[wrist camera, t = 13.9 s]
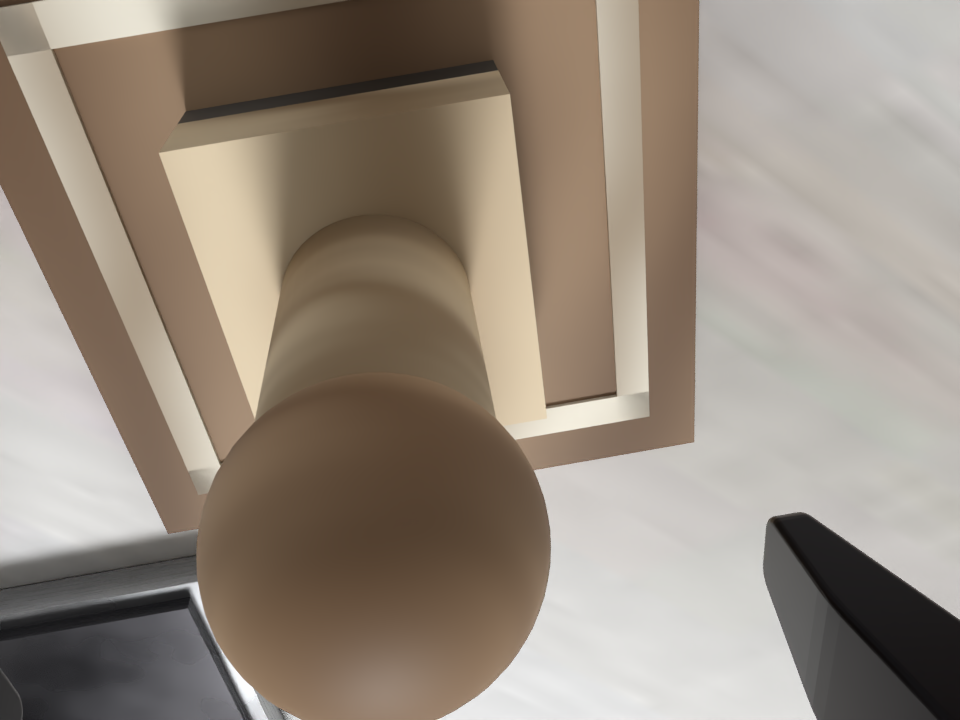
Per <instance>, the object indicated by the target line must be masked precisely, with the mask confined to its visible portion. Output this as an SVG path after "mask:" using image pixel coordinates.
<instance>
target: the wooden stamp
mask: <svg viewBox="0 0 960 720" xmlns="http://www.w3.org/2000/svg"><path fill="white" fill-rule="evenodd" d="M159 155H160V158H161V161H162V163H163V166H164V169H165V172H166V175H167V177H168V180H169V183H170V186H171V188H172V191H173V194H174V197H175V199H176V202H177V205H178V208H179V210H180V213H181V216H182V219H183V222H184V224H185V227H186V230H187V233H188V235H189V238H190V241H191V244H192V246H193V249H194V252H195V255H196V258H197V260H198V263H199V266H200V269H201V271H202V274H203V277H204V280H205V282H206V285H207V288H208V291H209V294H210V296H211V299H212V302H213V305H214V307H215V310H216V313H217V316H218V318H219V321H220V324H221V327H222V329H223V332H224V335H225V338H226V341H227V343H228V346H229V349H230V352H231V354H232V357H233V360H234V363H235V365H236V368H237V371H238V374H239V377H240V379H241V382H242V385H243V388H244V390H245V393H246V396H247V399H248V401H249V404H250V407H251V410H252V412H253V415H254V418H255V421H254V423H253V424H252V425H251V426H250V427H249V428H248V430H247V431H246V432H245V433H244V434H243V435H242V436H241V437H240V439H239V440H238V441H237V442H236V443H235V444H234V446H233V447H232V448H231V450H230V452H229V453H228V455H227V457H226V458H225V460H224V461H223V463H222V465H221V466H220V468H219V470H218V471H217V473H216V475H215V477H214V479H213V482H212V484H211V487H210V489H209V492H208V495H207V497H206V500H205V503H204V506H203V509H202V514H201V519H200V524H199V530H198V536H197V551H196V563H197V580H198V585H199V591H200V596H201V600H202V605H203V609H204V612H205V615H206V618H207V620H208V623H209V625H210V628H211V630H212V632H213V634H214V637H215V639H216V641H217V643H218V645H219V646H220V648H221V650H222V651H223V653H224V655H225V656H226V657H227V659H228V660H229V662H230V663H231V664H232V666H233V667H234V669H235V670H236V671H237V672H238V673H239V674H240V676H241V677H242V678H243V679H244V680H245V681H246V682H247V683H248V684H249V685H250V686H252V687H253V688H254V689H255V690H256V691H257V692H258V693H259V694H261V695H262V696H263V697H264V698H265V699H266V700H268V701H269V702H271V703H272V704H274V705H275V706H277V707H278V708H280V709H282V710H284V711H286V712H288V713H290V714H292V715H294V716H296V717H298V718H299V719H301V720H436V719H439V718H441V717H444V716H446V715H447V714H449V713H451V712H453V711H455V710H457V709H458V708H460V707H461V706H463V705H464V704H466V703H468V702H469V701H471V700H472V699H474V698H475V697H477V696H478V695H479V694H480V693H482V692H483V691H484V690H485V689H487V688H488V687H489V686H490V685H491V684H492V683H493V682H494V681H495V680H496V679H497V678H498V676H499V675H500V674H501V673H502V672H503V671H504V670H505V669H506V668H507V667H508V666H509V665H510V663H511V662H512V661H513V659H514V658H515V657H516V655H517V654H518V652H519V651H520V649H521V647H522V646H523V644H524V643H525V641H526V640H527V638H528V636H529V634H530V632H531V630H532V628H533V626H534V624H535V621H536V619H537V616H538V614H539V611H540V608H541V605H542V602H543V599H544V596H545V591H546V586H547V582H548V576H549V569H550V555H551V540H550V526H549V520H548V514H547V509H546V504H545V500H544V496H543V494H542V491H541V488H540V485H539V482H538V480H537V478H536V475H535V473H534V470H533V468H532V466H531V465H530V463H529V461H528V459H527V458H526V456H525V454H524V453H523V451H522V450H521V448H520V446H519V445H518V443H517V442H516V440H515V439H514V438H513V437H512V436H511V435H510V433H509V432H508V431H507V430H506V429H505V428H504V427H503V426H507V425H512V424H518V423H524V422H530V421H535V420H541V419H547V414H546V405H545V396H544V387H543V379H542V370H541V361H540V352H539V344H538V335H537V326H536V317H535V309H534V300H533V291H532V282H531V273H530V265H529V256H528V247H527V238H526V230H525V221H524V212H523V203H522V195H521V186H520V177H519V168H518V159H517V151H516V142H515V133H514V124H513V116H512V107H511V98H510V93H509V91H508V89H507V87H506V85H505V83H504V81H503V79H502V77H501V75H500V73H499V71H498V69H497V67H496V65H495V63H494V61H493V60H490V61H484V62H478V63H472V64H466V65H460V66H454V67H448V68H442V69H436V70H430V71H424V72H418V73H412V74H406V75H400V76H394V77H388V78H382V79H376V80H370V81H364V82H358V83H352V84H346V85H340V86H334V87H328V88H322V89H316V90H310V91H304V92H298V93H292V94H286V95H280V96H274V97H268V98H263V99H257V100H251V101H245V102H239V103H233V104H227V105H221V106H215V107H209V108H203V109H197V110H191V111H186V112H185V113H184V115H183V116H182V118H181V119H180V121H179V122H178V124H177V126H176V127H175V129H174V130H173V132H172V133H171V135H170V136H169V138H168V139H167V141H166V142H165V144H164V146H163V147H162V149H161V150H160V152H159Z"/></svg>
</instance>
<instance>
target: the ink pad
mask: <svg viewBox="0 0 960 720" xmlns="http://www.w3.org/2000/svg"><path fill="white" fill-rule="evenodd" d="M0 669H1V670H2V672H3V673H4V674H5V676H6V677H7V678H8V680H9V681H10V683H11V684H12V685H13V687H14V688H15V689H16V691H17V692H18V694H19V695H20V698H21V701H22V707H23V716H22V720H284V719H283V716H282V714H281V712H280V710H279V708H278V707H277V706H275V705H274V704H272V703H271V702H269V701H268V700H266V699H265V698H264V697H263V696H262V695H261V694H259V693H258V692H257V691H256V690H255V689H254V688H253V687H252V686H250V685H249V684H248V683H247V682H246V681H245V680H244V679H243V678H242V677H241V676H240V674H239V673H238V672H237V671H236V670H235V669H234V667H233V666H232V664H231V663H230V662H229V660H228V659H227V657H226V656H225V655H224V653H223V651H222V650H221V648H220V646H219V645H218V643H217V641H216V639H215V637H214V634H213V632H212V630H211V628H210V625H209V623H208V620H207V618H206V615H205V612H204V609H203V605H202V600H201V596H200V591H199V585H198V580H197V563H196V556H192V557H187V558H181V559H175V560H170V561H164V562H158V563H152V564H147V565H141V566H135V567H130V568H124V569H118V570H112V571H107V572H101V573H95V574H90V575H84V576H78V577H72V578H67V579H61V580H55V581H50V582H44V583H38V584H32V585H27V586H21V587H15V588H10V589H4V590H0Z"/></svg>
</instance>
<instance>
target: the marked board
mask: <svg viewBox="0 0 960 720" xmlns="http://www.w3.org/2000/svg"><path fill="white" fill-rule="evenodd" d="M698 49H699V0H0V185H1V187H2V189H3V191H4V193H5V195H6V197H7V199H8V201H9V204H10V206H11V208H12V210H13V212H14V214H15V216H16V218H17V220H18V222H19V224H20V226H21V228H22V231H23V233H24V235H25V237H26V239H27V241H28V243H29V245H30V247H31V249H32V251H33V253H34V256H35V258H36V260H37V262H38V264H39V266H40V268H41V270H42V272H43V274H44V276H45V278H46V280H47V283H48V285H49V287H50V289H51V291H52V293H53V295H54V297H55V299H56V301H57V303H58V305H59V308H60V310H61V312H62V314H63V316H64V318H65V320H66V322H67V324H68V326H69V328H70V330H71V332H72V335H73V337H74V339H75V341H76V343H77V345H78V347H79V349H80V351H81V353H82V355H83V357H84V360H85V362H86V364H87V366H88V368H89V370H90V372H91V374H92V376H93V378H94V380H95V382H96V384H97V387H98V389H99V391H100V393H101V395H102V397H103V399H104V401H105V403H106V405H107V407H108V409H109V412H110V414H111V416H112V418H113V420H114V422H115V424H116V426H117V428H118V430H119V432H120V434H121V436H122V439H123V441H124V443H125V445H126V447H127V449H128V451H129V453H130V455H131V457H132V459H133V461H134V464H135V466H136V468H137V470H138V472H139V474H140V476H141V478H142V480H143V482H144V484H145V486H146V488H147V491H148V493H149V495H150V497H151V499H152V501H153V503H154V505H155V507H156V509H157V511H158V513H159V516H160V518H161V520H162V522H163V524H164V526H165V528H166V530H167V532H168V534H171V533H176V532H182V531H188V530H193V529H199V524H200V519H201V514H202V509H203V506H204V503H205V500H206V497H207V495H208V492H209V489H210V487H211V484H212V482H213V479H214V477H215V475H216V473H217V471H218V470H219V468H220V466H221V465H222V463H223V461H224V460H225V458H226V457H227V455H228V453H229V452H230V450H231V448H232V447H233V446H234V444H235V443H236V442H237V441H238V440H239V439H240V437H241V436H242V435H243V434H244V433H245V432H246V431H247V430H248V428H249V427H250V426H251V425H252V424H253V423H254V421H255V418H254V415H253V412H252V410H251V407H250V404H249V401H248V399H247V396H246V393H245V390H244V388H243V385H242V382H241V379H240V377H239V374H238V371H237V368H236V365H235V363H234V360H233V357H232V354H231V352H230V349H229V346H228V343H227V341H226V338H225V335H224V332H223V329H222V327H221V324H220V321H219V318H218V316H217V313H216V310H215V307H214V305H213V302H212V299H211V296H210V294H209V291H208V288H207V285H206V282H205V280H204V277H203V274H202V271H201V269H200V266H199V263H198V260H197V258H196V255H195V252H194V249H193V246H192V244H191V241H190V238H189V235H188V233H187V230H186V227H185V224H184V222H183V219H182V216H181V213H180V210H179V208H178V205H177V202H176V199H175V197H174V194H173V191H172V188H171V186H170V183H169V180H168V177H167V175H166V172H165V169H164V166H163V163H162V161H161V158H160V155H159V152H160V150H161V149H162V147H163V146H164V144H165V142H166V141H167V139H168V138H169V136H170V135H171V133H172V132H173V130H174V129H175V127H176V126H177V124H178V122H179V121H180V119H181V118H182V116H183V115H184V113H185V112H186V111H191V110H197V109H203V108H209V107H215V106H221V105H227V104H233V103H239V102H245V101H251V100H257V99H263V98H268V97H274V96H280V95H286V94H292V93H298V92H304V91H310V90H316V89H322V88H328V87H334V86H340V85H346V84H352V83H358V82H364V81H370V80H376V79H382V78H388V77H394V76H400V75H406V74H412V73H418V72H424V71H430V70H436V69H442V68H448V67H454V66H460V65H466V64H472V63H478V62H484V61H490V60H493V61H494V63H495V65H496V67H497V69H498V71H499V73H500V75H501V77H502V79H503V81H504V83H505V85H506V87H507V89H508V91H509V93H510V98H511V107H512V116H513V124H514V133H515V142H516V151H517V159H518V168H519V177H520V186H521V195H522V203H523V212H524V221H525V230H526V238H527V247H528V256H529V265H530V273H531V282H532V291H533V300H534V309H535V317H536V326H537V335H538V344H539V352H540V361H541V370H542V379H543V387H544V396H545V405H546V414H547V419H541V420H535V421H530V422H524V423H518V424H512V425H507V426H503V427H504V428H505V429H506V430H507V431H508V432H509V433H510V435H511V436H512V437H513V438H514V439H515V440H516V442H517V443H518V445H519V446H520V448H521V450H522V451H523V453H524V454H525V456H526V458H527V459H528V461H529V463H530V465H531V466H532V468H533V470H537V469H543V468H549V467H554V466H560V465H566V464H572V463H577V462H583V461H589V460H595V459H600V458H606V457H612V456H618V455H623V454H629V453H635V452H640V451H646V450H652V449H658V448H663V447H669V446H675V445H681V444H686V443H692V442H694V408H695V318H696V228H697V139H698Z"/></svg>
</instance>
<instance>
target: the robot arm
mask: <svg viewBox="0 0 960 720" xmlns="http://www.w3.org/2000/svg"><path fill="white" fill-rule="evenodd" d="M763 572H764V578H765V582H766V585H767V588H768V591H769V594H770V597H771V599H772V602H773V605H774V607H775V610H776V613H777V616H778V618H779V621H780V624H781V627H782V629H783V632H784V635H785V637H786V640H787V643H788V646H789V648H790V651H791V654H792V657H793V659H794V662H795V665H796V667H797V670H798V673H799V676H800V678H801V681H802V684H803V687H804V689H805V692H806V694H807V697H808V700H809V702H810V705H811V707H812V710H813V712H814V714H815V716H816V718H817V720H960V620H959V619H958V618H956V617H955V616H954V615H952V614H951V613H949V612H948V611H946V610H945V609H944V608H942V607H941V606H939V605H938V604H936V603H935V602H934V601H932V600H931V599H929V598H928V597H926V596H925V595H923V594H922V593H921V592H919V591H918V590H916V589H915V588H913V587H912V586H911V585H909V584H908V583H906V582H905V581H903V580H902V579H901V578H899V577H898V576H896V575H895V574H893V573H892V572H890V571H889V570H888V569H886V568H885V567H883V566H882V565H880V564H879V563H878V562H876V561H875V560H873V559H872V558H870V557H869V556H868V555H866V554H865V553H863V552H862V551H860V550H859V549H857V548H856V547H855V546H853V545H852V544H850V543H849V542H847V541H846V540H845V539H843V538H842V537H840V536H839V535H837V534H836V533H835V532H833V531H832V530H830V529H829V528H827V527H826V526H825V525H823V524H822V523H820V522H819V521H817V520H816V519H814V518H813V517H812V516H810V515H808V514H806V513H802V512H797V513H791V514H785V515H780V516H774V517H772V518H770V519H769V521H768V522H767V526H766V536H765V548H764V560H763ZM22 716H23V707H22V701H21V698H20V695H19V694H18V692H17V691H16V689H15V688H14V687H13V685H12V684H11V683H10V681H9V680H8V678H7V677H6V676H5V674H4V673H3V672H2V670H1V669H0V720H22Z"/></svg>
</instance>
